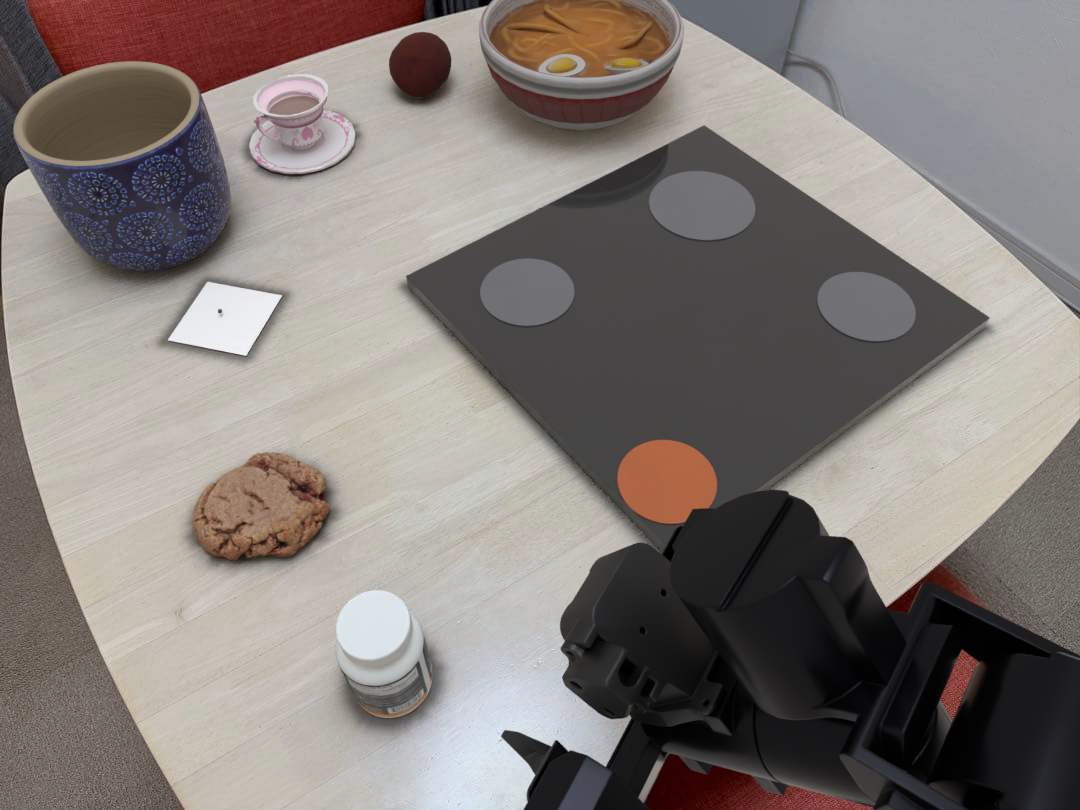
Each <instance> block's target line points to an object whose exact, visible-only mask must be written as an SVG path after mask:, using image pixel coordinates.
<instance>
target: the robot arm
mask: <svg viewBox="0 0 1080 810" xmlns="http://www.w3.org/2000/svg"><path fill="white" fill-rule="evenodd" d="M559 631H560V635H561V637H562V639H563V640H564V642H563V643H562V645H561V646H560V652H561V653H562V654H563V655H564V656H565V657H566V658H567V660H568V665H567V667H566V669H565V671H564V672H563V674H562V676H561V680H562V682H563V684H564V686H565V687H566V688H567V689H568V690H569V691H571V692H572V693H573V694H574V695H575V696H577V697H578V698H579V699H580V700H581V701H583V702H584V703H585V704H587V705H588V706H589V707H590V708H591V709H592V710H594V711H595V712H597V713H598V714H599V715H601V716H603V717H605V718H606V719H609V720H620V719H627V718H628V717H630V719H629V722H628V723H627V725H626V727H625V729H624V731H623V733H622V735H621V737H620V738H619V740H618V742H617V744H616V746H615V748H614V750H613V751H612V754H611V756H610V758H609V759H608V761H607V764H606V765H604V764H602V763H600V762H599V761H598V760H595V759H594V758H593V757H591V756H589V755H588V754H585V753H581V752H578V751H576V750H575V751H574V750H572V749H570V750H569V751H568V749H567V748H566V747H565V746H564V745H563V744H562V743H561V742H560V741H559V740H554V741H553V743H552V745H550V744H547V743H545V742H543V741H540V740H538V739H536V738H533V737H531V736H529V735H527V734H524V733H523V732H519V731H515V730H509V729H505V730H503V731H502V733H501V735H500V738H501V739H503V741H504V742H505V743H507V744H508V746H510V748H512V750H514V751H515V752H516V753H517V755H519V756H520V757H521V759H523V761H525V763H526V764H528V766H529V768H530V769H531V771H532V773H533V774H534V777H533V779H532V780H531V782H530V784H529V785H528V787H527V789H526V802H527V803H526V804H525V805H524V808H523V810H651V809H650V808H649V807H648V806H647V805H646V804H645V802H646V801H647V799H648V796H649V794H650V792H651V790H652V789H653V786H654V785H655V782H656V780H657V778H658V776H659V774H660V771H661V770H662V768H663V765H664V764H665V761H666V759H667V758H668V755H669V754H670V755H675V756H678V757H679V758H680V759H681V760H682V762H684V764H685V765H686V766H687V767H688V768H689V769H690V771H694V772H697V773H700V774H704V775H709V774H710V772H711V770H712V768H713V766H716V767H720V768H723V769H727V770H730V771H734V772H738V773H742V774H746V775H749V776H751V777H752V778H753V780H754V781H755V782H756V783H757V785H759V786H760V788H761V789H762V790H763V791H764V792H768V793H771V794H775V795H779V796H783V797H784V796H785V795H786V792H787V789H788V786H791V787H794V788H799V789H803V790H805V791H810V792H814V793H817V794H821V795H824V796H828V797H832V798H836V799H840V800H843V801H847V802H850V803H854V804H857V805H858V804H859V805H862V806H864V807H865V806H866V807H869V808H872V810H1080V654H1078V653H1076V652H1074V651H1073V650H1070V649H1068V648H1066V647H1064V646H1061V645H1060V644H1057V643H1056V642H1054V641H1051V640H1049V639H1048V638H1046V637H1043V636H1042V635H1039V634H1038V633H1036V632H1033V631H1031V630H1029V629H1027V628H1026V627H1023V626H1021V625H1019V624H1017V623H1015V622H1013V621H1012V620H1009V619H1007V618H1005V617H1003V616H1001V615H999V614H997V613H995V612H993V611H991V610H989V609H987V608H985V607H983V606H981V605H979V604H977V603H975V602H973V601H971V600H969V599H966V598H964V597H962V596H961V595H959V594H957V593H955V592H953V591H950V590H949V589H946V588H944V587H943V586H940V585H938V584H937V583H934V582H931V581H923V582H922V583H921V584H920V586H919V588H918V591H917V592H916V595H915V596H914V599H913V601H912V603H911V605H910V607H909V609H908V611H907V612H905V611H899V610H891V609H888V608H887V606H886V604H885V602H884V601H883V599H882V597H881V596H880V594H879V592H878V591H877V589H876V587H875V585H874V583H873V582H872V579H871V576H870V571H869V568H868V565H867V564H866V561H865V559H864V558H863V556H862V555H861V552H860V551H859V549H858V547H857V546H856V544H855V543H854V541H853V540H852V539H849V538H848V537H846V536H837V535H836V536H835V535H830V534H829V533H828V531H827V529H826V528H825V526H824V523H823V522H822V521H821V519H820V517H819V515H818V514H817V512H816V510H815V509H814V506H812V505H810V504H809V503H808V502H807V501H806V500H805V499H802V498H800V497H797V496H795V495H792V494H790V492H789V491H788V490H783V489H767V490H765V491H757V492H753V493H750V494H746V495H742V496H740V497H737V498H735V499H733V500H730V501H728V502H726V503H724V504H722V505H721V506H719V507H717V508H698V509H692V511H691V513H690V515H689V516H688V518H687V520H686V522H685V524H684V525H683V526H679V527H677V528H676V529H675V530H674V532H673V533H672V535H671V537H670V539H669V540H668V542H667V544H666V546H665V548H664V549H663V551H662V552H660V551H659V550H657V549H656V548H654V547H653V546H652V545H651V544H649V543H645V542H635V543H632V544H630V545H627V546H625V547H623V548H620V549H618V550H615V551H613V552H610V553H607V554H605V555H602V556H601V557H599V558H597V559H596V560H595V561H594V562H593V564H592V566H591V567H590V569H589V573H588V574H587V575H586V577H585V579H584V581H583V583H582V584H581V585H580V588H579V589H578V590H577V592H576V593H575V595H574V597H573V599H572V600H571V601H570V603H569V604H568V605H567V606H566V608H565V610H564V611H563V613H562V614H561V617H560V621H559ZM962 651H963V652H964V653H966V654H967V655H968V656H970V657H971V658H973V660H975V661H976V662H978V663H977V665H976V666H975V668H974V669H973V671H972V673H971V676H970V678H969V680H968V682H967V685H966V687H965V690H964V692H963V695H962V697H961V700H960V701H959V705H958V707H957V709H956V711H955V714H954V716H953V718H952V716H951V715H950V713H949V711H948V710H947V708H946V706H945V705H944V703H943V700H942V699H941V698H942V696H943V694H944V692H945V689H946V687H947V686H948V685H947V684H948V682H949V680H950V678H951V675H952V673H953V671H954V668H955V666H956V663H957V661H958V659H959V656H960V654H961V652H962Z"/></svg>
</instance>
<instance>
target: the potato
mask: <svg viewBox="0 0 1080 810" xmlns="http://www.w3.org/2000/svg"><path fill="white" fill-rule="evenodd" d="M388 69H389V75H390V76H391V78H392V80H393V82H394V83H395V85H396V86H397V87H398V89H399V90H400V91H401V92H403V94H405V95H406V96H408V97H410V98H415V99H425V98H427V97H429V96H432V95H433V94H435V93H436V92H437V91H439V90H440V89H441V88H442V87H443V85H444V84H445V83H446V81H447V80H448V79H449V77H450V73H451V69H452V55H451V51H450V49H449V46H448V45H447V43H446V42H445V41H444V40H443V39H442V38H441V37H440V36H438V34H434V33H432V32H429V31H416V32H412V33H411V34H408V35H406V36H404V37H403V38H402V39H400V40H399V42H398V43H397V44H396V46H395V47H394V48H393V50H392V51H391V53H390V57H389V59H388Z"/></svg>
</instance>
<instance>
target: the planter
mask: <svg viewBox="0 0 1080 810" xmlns="http://www.w3.org/2000/svg"><path fill="white" fill-rule="evenodd" d="M12 129H13V138H14V142H15V143H16V145H17V148H18V149H19V152H20V155H21V156H22V158H23V160H24V162H25V164H26V166H27V167H28V169H29V171H30V173H31V174H32V176H33V178H34V181H35V182H36V184H37V185H38V187H39V189H40V190H41V192H42V194H43V196H44V197H45V199H46V201H47V202H48V204H49V206H50V208H51V209H52V211H53V212H54V214H55V216H56V217H57V219H58V220H59V222H60V223H61V224H62V226H63V227H64V229H65V230H66V232H67V233H68V234H69V236H70V237H71V238H72V240H73V241H74V242H75V243H76V244H77V245H78V246H79V247H80V248H81V249H82V250H83V251H84V252H85V253H87V254H88V255H90V256H91V257H93V258H94V259H97V260H98V261H100V262H102V263H104V264H106V265H109V266H111V267H114V268H119V269H122V270H128V271H134V272H153V271H154V272H156V271H161V270H162V271H163V270H166V269H171V268H173V267H177V266H180V265H183V264H184V263H187V262H189V261H192V260H194V259H196V257H198V256H199V255H201V254H202V253H204V252H206V250H207V249H209V248H210V247H211V246H212V245H213V244H214V243H215V242H216V240H217V239H218V237H219V236H220V235H221V233H222V232H223V229H224V228H225V226H226V224H227V221H228V219H229V215H230V211H231V206H232V196H231V195H232V193H231V192H232V191H231V186H230V185H231V184H230V181H229V175H228V171H227V168H226V164H225V161H224V156H223V154H222V150H221V146H220V143H219V141H218V137H217V134H216V132H215V131H216V130H215V129H214V125H213V123H212V120H211V117H210V115H209V111H208V109H207V106H206V103H205V100H204V98H203V96H202V93H201V91H200V89H199V87H198V85H197V84H196V82H195V81H194V80H193V79H192V78H191V77H190V76H189V75H187V74H186V73H184V72H183V71H181V70H179V69H177V68H174V67H172V66H169V65H166V64H163V63H162V64H161V63H156V62H152V61H151V62H150V61H138V60H137V61H134V60H133V61H132V60H128V61H116V62H107V63H102V64H97V65H92V66H89V67H85V68H82V69H79V70H77V71H76V70H75V71H74V72H73V71H72V72H71V73H68V74H66V75H64V76H61V77H59V78H57V79H56V80H53V81H52V82H50V83H48V84H46V85H45V86H43V87H42V88H40V89H39V90H38V91H36V92H35V93H33V95H32V96H30V97H29V98H28V99H27V100H26V101H25V103H24V104H23V105H22V107H21V108H20V109H19V111H18V113H17V114H16V116H15V119H14V123H13V128H12Z"/></svg>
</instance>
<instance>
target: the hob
mask: <svg viewBox="0 0 1080 810" xmlns="http://www.w3.org/2000/svg"><path fill="white" fill-rule="evenodd" d="M405 277H406V278H405V279H406V284H407V288H408V289H409V290H410V291H411V292H412V293H413V294H414V295H415V296H416V297H417V298H418V299H419V300H420V301H421V302H422V303H423V304H424V305H425V306H426V307H427V308H428V310H430V311H431V313H433V315H434V316H435V317H436V318H437V319H438V320H439V321H440V322H441V323H442V324H443V325H444V326H445V327H446V328H447V329H448V331H450V332H451V334H452V335H454V337H455V338H456V339H457V340H458V341H459V342H460V343H461V344H462V346H464V347H465V348H466V349H467V350H468V351H469V352H470V353H471V354H472V356H474V358H476V360H477V361H478V362H479V363H480V364H481V365H483V367H484V368H485V369H486V370H487V371H488V372H489V373H490V374H491V376H493V377H494V379H495V380H497V381H498V382H499V384H500V385H501V386H502V388H504V390H506V391H507V392H508V394H509V395H511V397H513V399H514V400H516V401H517V402H518V404H519V405H520V406H521V407H522V408H523V409H524V410H525V411H526V412H527V413H528V414H529V415H530V417H532V418H533V419H534V420H535V421H536V422H537V423H538V424H539V426H540V427H542V428H543V430H544V431H545V432H546V433H547V434H548V435H549V436H550V437H551V438H552V439H553V440H554V441H555V442H556V443H557V444H558V445H559V447H561V448H562V449H563V451H565V453H566V454H567V455H568V456H569V457H570V458H571V459H572V460H573V461H574V462H575V463H576V464H577V465H578V466H579V467H580V469H582V471H584V473H586V475H588V476H589V477H590V479H591V480H592V481H593V482H594V483H595V484H596V485H597V486H598V487H599V488H600V489H601V490H602V491H603V492H604V493H605V495H606V496H608V498H609V499H610V500H612V502H613V503H614V504H615V505H616V506H617V507H618V508H619V509H620V511H622V512H623V513H624V514H625V515H626V516H627V517H628V518H629V520H631V522H632V523H633V524H635V526H636V527H637V528H638V529H639V530H640V531H641V532H642V533H643V534H644V535H645V536H646V537H647V538H648V539H649V541H651V543H653V545H655V547H656V548H657V549H658V551H659V552H660V553H662V551H663V549H664V548H665V546H666V544H667V542H668V540H669V539H670V537H671V535H672V533H673V532H674V530H675V529H676V528H677V527H679V526H683V525H684V524H685V522H686V520H687V518H688V516H689V515H690V513H691V511H692V509H698V508H717V507H719V506H721V505H722V504H724V503H726V502H728V501H730V500H733V499H735V498H737V497H740V496H742V495H746V494H750V493H753V492H757V491H766V490H769V488H771V487H772V486H773V485H774V484H776V483H778V482H779V481H780V480H781V479H783V478H784V477H786V476H787V475H788V474H790V473H791V472H792V471H794V470H795V469H796V468H798V467H799V466H800V465H802V464H803V463H804V462H806V461H807V460H808V459H810V458H812V457H813V456H814V455H815V454H817V453H818V452H819V451H821V450H822V449H824V448H825V447H826V446H827V445H829V444H830V443H832V442H833V441H834V440H836V439H837V438H838V437H839V436H841V435H843V434H844V433H846V432H847V430H849V429H850V428H852V427H853V426H854V425H856V424H858V422H860V421H861V420H863V419H864V418H866V417H867V416H868V415H869V414H871V413H872V412H874V411H875V410H876V409H877V408H879V407H880V406H881V405H882V404H884V403H886V402H887V401H888V400H890V399H891V398H892V397H893V396H895V395H896V394H898V393H899V392H900V391H902V390H903V389H904V388H905V387H907V386H908V385H910V384H911V383H913V382H914V381H915V380H917V379H918V378H919V377H920V376H922V375H923V374H924V373H925V372H927V371H928V370H930V369H931V368H932V367H934V366H935V365H936V364H938V363H940V361H942V360H943V359H945V358H946V357H948V356H949V355H950V354H952V352H954V351H955V350H957V349H958V348H959V347H960V346H963V344H964V343H966V342H967V341H969V340H970V339H972V338H973V337H974V336H975V335H977V334H978V333H980V332H981V331H982V330H984V329H985V327H986V325H987V324H988V322H989V320H990V319H991V317H990V316H989V315H987V314H985V313H984V312H983V311H981V310H980V309H978V308H976V307H975V306H973V305H972V304H971V303H969V302H967V301H966V300H965V299H963V298H962V297H960V296H959V295H958V294H956V293H954V292H953V291H951V290H950V289H949V288H947V287H945V286H944V285H942V284H941V283H939V282H938V281H937V280H935V279H933V278H932V277H930V276H929V275H927V274H926V273H925V272H923V271H921V270H920V269H918V268H917V267H916V266H914V265H912V264H911V263H909V262H908V261H907V260H905V259H904V258H902V257H901V256H899V255H898V254H896V253H895V252H894V251H892V250H891V249H889V248H887V247H886V246H885V245H883V244H881V243H880V242H878V241H877V240H875V239H874V238H873V237H871V236H870V235H868V234H867V233H866V232H863V231H862V230H861V229H859V228H858V227H856V226H855V225H853V224H852V223H851V222H849V221H848V220H846V219H844V218H843V217H841V216H840V215H839V214H837V213H835V212H834V211H832V210H831V209H829V208H828V207H827V206H825V205H823V204H822V203H820V202H819V201H818V200H816V199H815V198H813V197H812V196H810V195H809V194H807V193H806V192H804V191H803V190H801V189H800V188H798V187H797V186H795V185H794V184H792V183H791V182H789V181H788V180H786V179H785V178H783V177H782V176H781V175H779V174H778V173H776V172H774V171H773V170H772V169H770V168H768V167H767V166H766V165H764V164H763V163H761V162H760V161H759V160H757V159H755V158H754V157H752V156H751V155H749V154H748V153H746V152H745V151H743V150H742V149H741V148H739V147H738V146H736V145H734V143H731V142H730V141H729V140H727V139H726V138H724V137H723V136H721V135H720V134H718V133H717V132H715V131H713V129H711V128H709V127H708V126H706V125H701V126H700V127H698V128H696V129H694V130H692V131H690V132H688V133H686V134H684V135H682V136H680V137H679V138H676V139H674V140H671V141H670V142H668V143H666V144H664V145H662V146H660V147H658V148H655V149H654V150H652V151H650V152H648V153H646V154H645V155H643V156H640V157H638V158H636V159H634V160H633V161H631V162H628V163H626V164H625V165H623V166H620V167H619V168H616V169H614V170H613V171H611V172H609V173H607V174H605V175H603V176H601V177H599V178H597V179H595V180H593V181H591V182H589V183H587V184H585V185H583V186H581V187H579V188H577V189H574V190H573V191H571V192H569V193H567V194H565V195H563V196H562V197H559V198H558V199H557V198H556V199H555V200H553V201H551V202H550V203H547V204H546V205H543V206H541V207H540V208H537V209H536V210H534V211H531V212H530V213H528V214H526V215H523V216H522V217H520V218H518V219H516V220H514V221H512V222H510V223H508V224H506V225H504V226H502V227H500V228H498V229H496V230H494V231H492V232H490V233H488V234H486V235H485V236H482V237H480V238H478V239H476V240H474V241H472V242H471V243H469V244H466V245H465V246H462V247H461V248H459V249H456V250H454V251H452V252H450V253H449V254H447V255H444V256H443V257H440V258H438V259H436V260H435V261H433V262H431V263H429V264H427V265H425V266H423V267H420V268H419V269H417V270H415V271H413V272H411V273H409V274H407V275H405Z"/></svg>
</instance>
